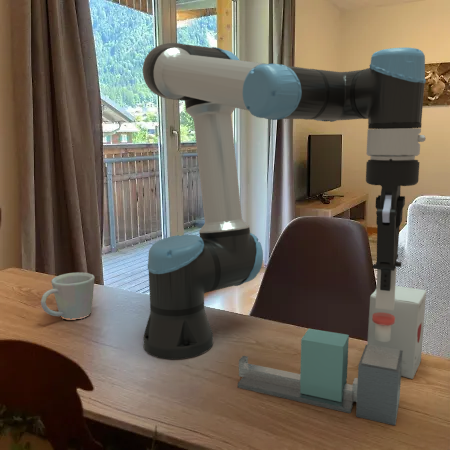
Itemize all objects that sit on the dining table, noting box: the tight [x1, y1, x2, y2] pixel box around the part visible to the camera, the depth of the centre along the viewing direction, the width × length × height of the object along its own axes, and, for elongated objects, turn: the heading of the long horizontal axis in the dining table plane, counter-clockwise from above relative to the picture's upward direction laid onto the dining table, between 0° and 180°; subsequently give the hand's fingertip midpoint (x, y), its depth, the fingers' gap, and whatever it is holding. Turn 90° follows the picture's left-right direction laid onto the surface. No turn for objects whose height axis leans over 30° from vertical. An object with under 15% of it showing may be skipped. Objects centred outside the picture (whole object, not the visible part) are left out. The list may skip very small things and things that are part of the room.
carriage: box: [299, 328, 350, 402], centre depth 80 cm, size 7×5×10 cm
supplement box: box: [366, 285, 427, 380], centre depth 91 cm, size 9×9×15 cm
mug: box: [40, 272, 95, 319], centre depth 117 cm, size 10×15×10 cm
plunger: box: [372, 312, 395, 342], centre depth 75 cm, size 3×3×4 cm
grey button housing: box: [355, 344, 403, 426], centre depth 77 cm, size 6×8×9 cm
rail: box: [237, 355, 358, 414], centre depth 83 cm, size 22×7×4 cm, turn 65°
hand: (384, 307), depth 74 cm, fingers closed
